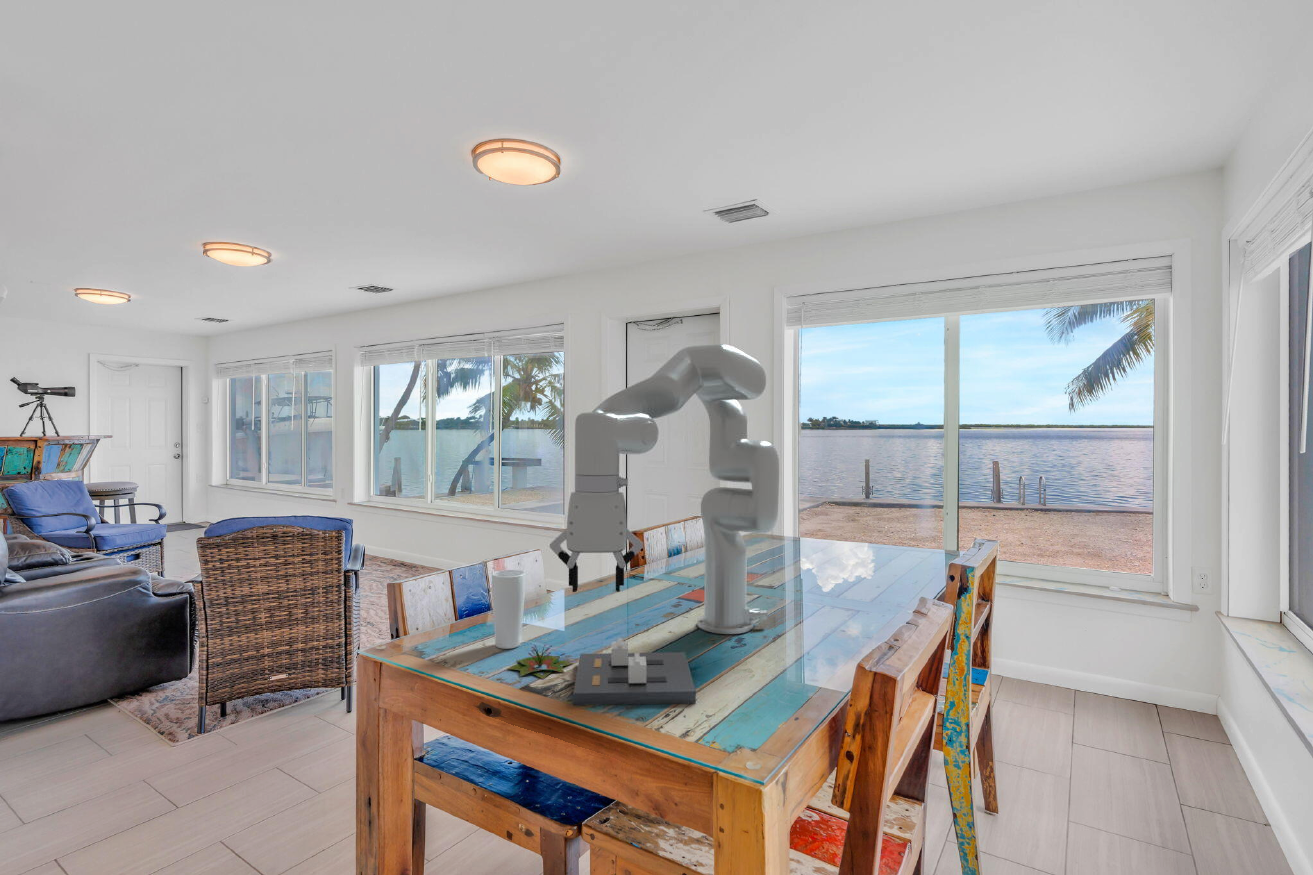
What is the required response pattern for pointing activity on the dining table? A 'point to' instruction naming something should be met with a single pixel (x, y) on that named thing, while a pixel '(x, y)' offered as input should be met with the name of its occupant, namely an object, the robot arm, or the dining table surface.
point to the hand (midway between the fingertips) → (596, 589)
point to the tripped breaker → (637, 669)
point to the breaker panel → (612, 687)
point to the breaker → (619, 652)
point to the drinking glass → (508, 607)
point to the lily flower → (540, 664)
